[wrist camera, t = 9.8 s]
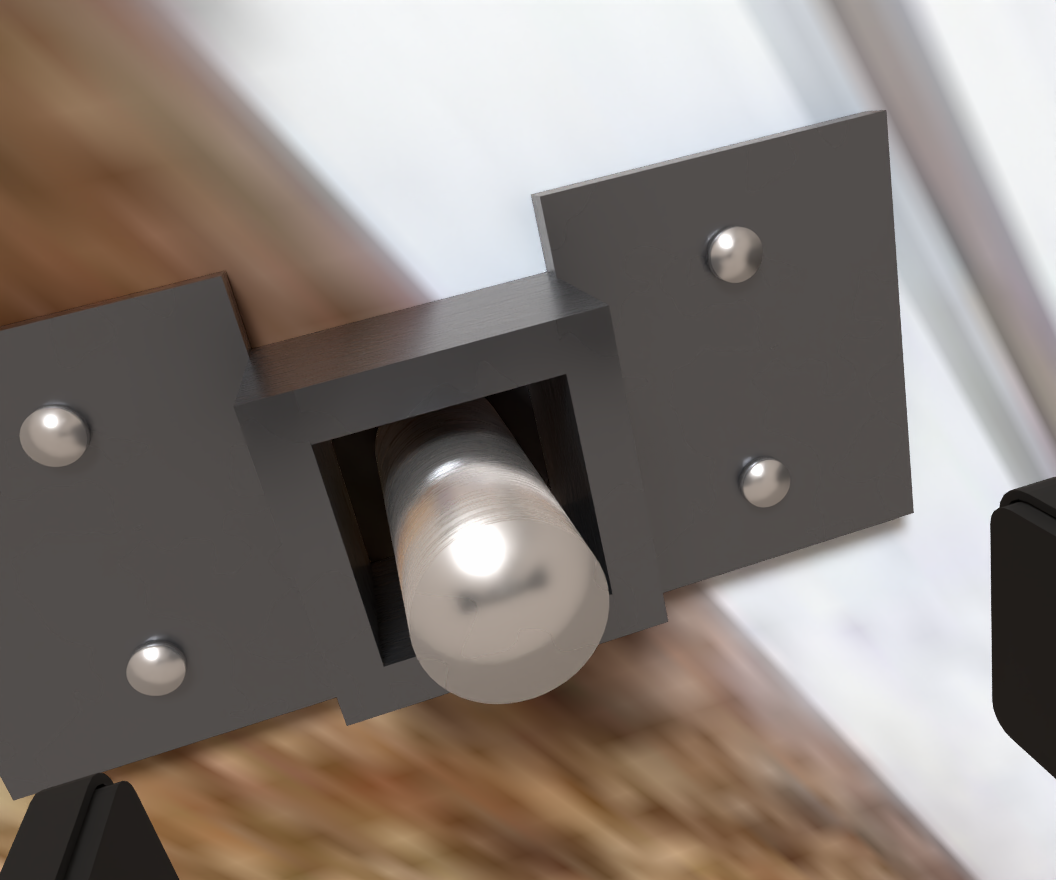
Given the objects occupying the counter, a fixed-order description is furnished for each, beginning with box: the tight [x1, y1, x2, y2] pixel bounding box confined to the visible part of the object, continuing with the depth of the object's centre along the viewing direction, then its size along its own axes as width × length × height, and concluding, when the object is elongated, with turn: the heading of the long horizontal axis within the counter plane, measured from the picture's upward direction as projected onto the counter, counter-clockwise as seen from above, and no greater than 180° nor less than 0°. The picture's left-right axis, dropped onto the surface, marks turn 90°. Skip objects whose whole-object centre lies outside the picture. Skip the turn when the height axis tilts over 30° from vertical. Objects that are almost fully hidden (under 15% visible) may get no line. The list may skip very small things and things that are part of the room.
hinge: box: [0, 110, 914, 800], centre depth 18 cm, size 23×10×4 cm, turn 103°
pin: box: [375, 397, 609, 704], centre depth 17 cm, size 3×3×8 cm
